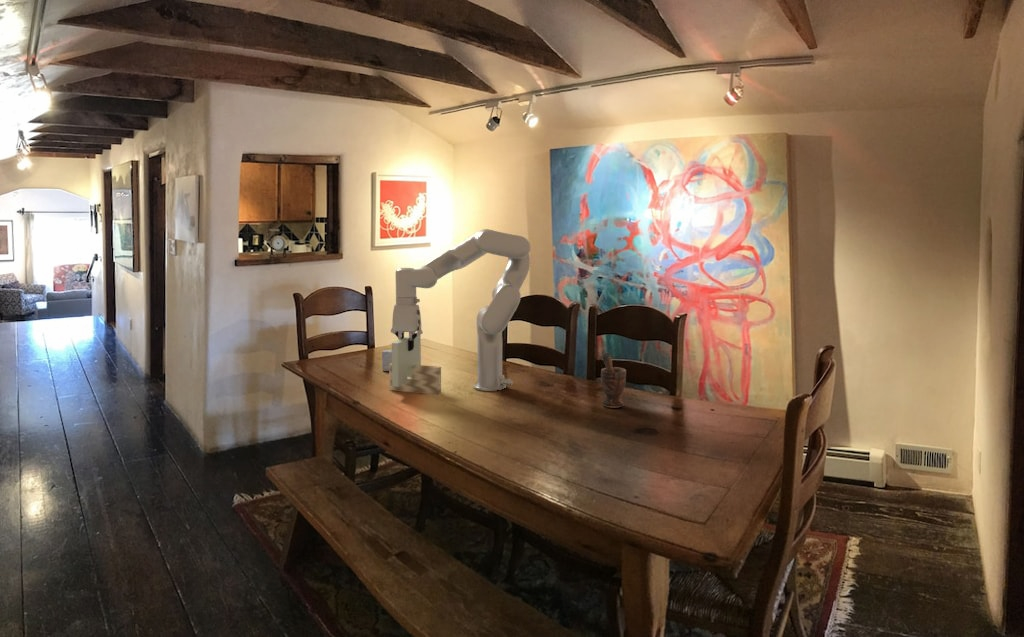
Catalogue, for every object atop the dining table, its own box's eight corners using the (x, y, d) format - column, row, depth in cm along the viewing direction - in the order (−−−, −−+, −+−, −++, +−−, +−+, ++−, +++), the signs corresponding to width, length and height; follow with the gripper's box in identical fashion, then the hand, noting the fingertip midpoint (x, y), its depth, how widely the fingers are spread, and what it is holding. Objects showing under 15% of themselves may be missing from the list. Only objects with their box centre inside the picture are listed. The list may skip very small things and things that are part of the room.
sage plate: (415, 373, 261) (414, 333, 258) (420, 374, 260) (420, 334, 258) (392, 386, 242) (391, 342, 239) (398, 386, 241) (397, 343, 239)
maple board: (441, 392, 249) (440, 366, 248) (438, 394, 247) (438, 368, 245) (392, 388, 255) (391, 363, 253) (389, 390, 252) (389, 364, 251)
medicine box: (403, 370, 285) (402, 350, 284) (400, 372, 281) (400, 352, 280) (385, 369, 286) (384, 349, 285) (382, 371, 282) (381, 351, 280)
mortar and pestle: (624, 413, 225) (626, 355, 222) (598, 411, 227) (600, 354, 224) (625, 403, 236) (627, 348, 233) (601, 402, 238) (602, 347, 235)
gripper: (430, 301, 248) (430, 349, 250) (390, 299, 252) (391, 346, 255) (422, 303, 240) (422, 353, 243) (381, 301, 245) (382, 350, 248)
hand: (406, 349), depth 249 cm, fingers closed on sage plate, 2 cm apart
